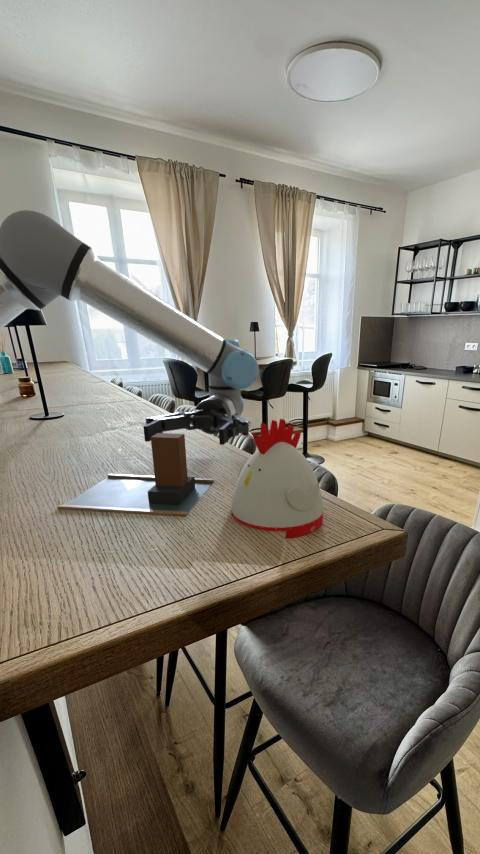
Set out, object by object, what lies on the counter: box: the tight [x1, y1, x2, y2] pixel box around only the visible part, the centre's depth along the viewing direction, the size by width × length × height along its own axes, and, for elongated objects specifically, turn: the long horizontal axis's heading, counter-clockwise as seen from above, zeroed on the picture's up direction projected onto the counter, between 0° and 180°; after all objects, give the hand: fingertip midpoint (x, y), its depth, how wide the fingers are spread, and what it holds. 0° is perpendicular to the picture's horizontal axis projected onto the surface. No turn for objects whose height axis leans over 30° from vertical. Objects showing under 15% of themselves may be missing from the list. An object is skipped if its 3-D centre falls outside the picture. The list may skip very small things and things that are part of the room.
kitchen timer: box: [231, 418, 324, 539], centre depth 60 cm, size 14×14×15 cm
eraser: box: [148, 432, 195, 505], centre depth 66 cm, size 8×5×10 cm, turn 174°
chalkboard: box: [57, 473, 215, 517], centre depth 69 cm, size 20×16×2 cm
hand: (183, 435), depth 72 cm, fingers open, 13 cm apart
